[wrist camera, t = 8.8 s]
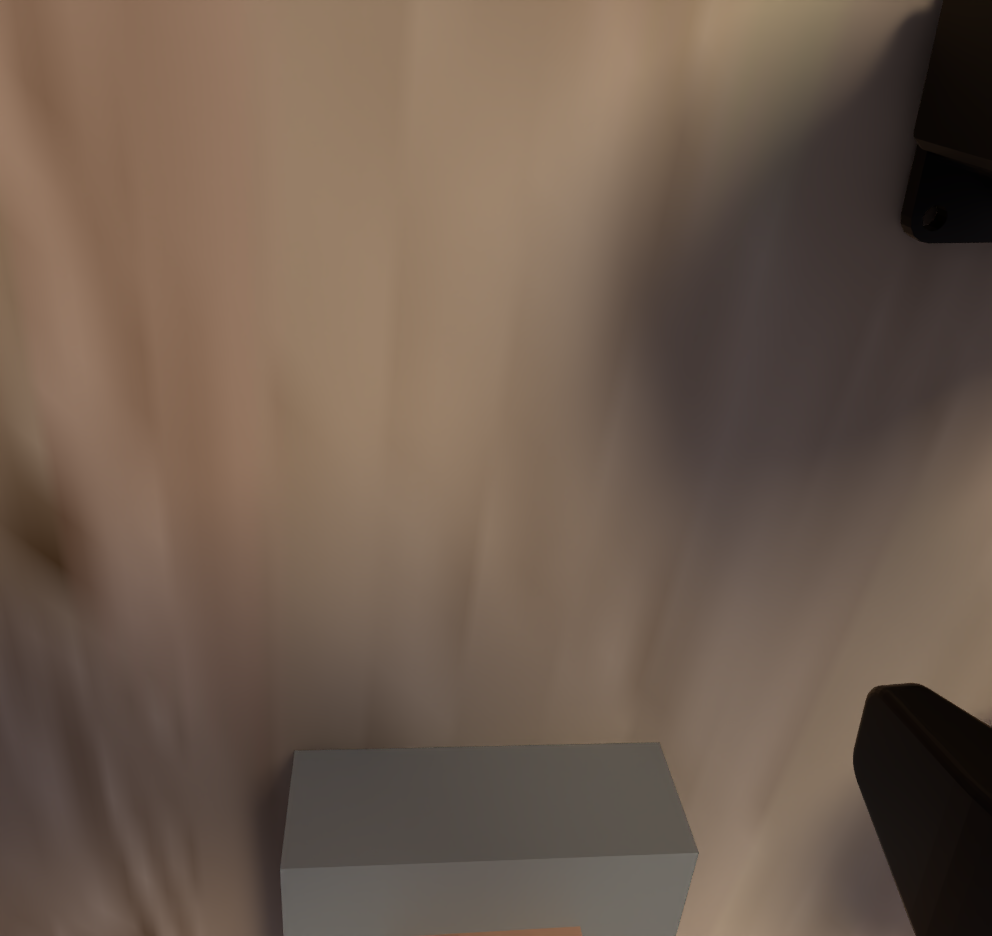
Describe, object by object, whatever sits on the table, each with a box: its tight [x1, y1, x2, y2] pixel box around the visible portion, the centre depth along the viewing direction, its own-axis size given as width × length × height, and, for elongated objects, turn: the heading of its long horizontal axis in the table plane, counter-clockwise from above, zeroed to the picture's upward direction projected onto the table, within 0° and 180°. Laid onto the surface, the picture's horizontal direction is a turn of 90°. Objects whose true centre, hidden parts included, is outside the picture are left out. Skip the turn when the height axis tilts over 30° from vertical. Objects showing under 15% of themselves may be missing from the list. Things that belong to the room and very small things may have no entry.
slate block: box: [280, 742, 699, 936], centre depth 25 cm, size 10×10×4 cm
